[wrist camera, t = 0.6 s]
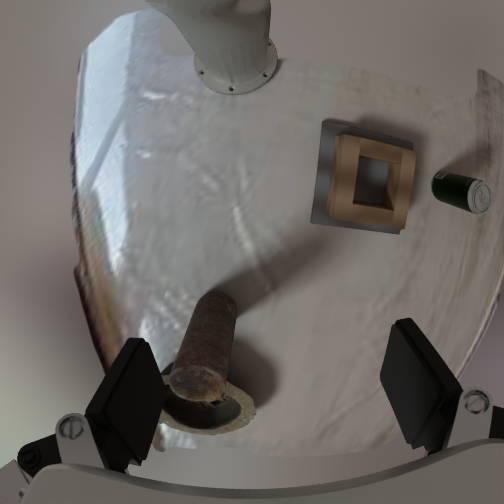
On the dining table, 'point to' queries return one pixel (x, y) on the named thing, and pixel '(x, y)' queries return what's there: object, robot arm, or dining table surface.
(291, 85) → the dining table surface
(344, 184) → the well block
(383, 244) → the dining table surface
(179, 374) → the brown cylinder
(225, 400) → the stone bowl
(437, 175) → the beer can
